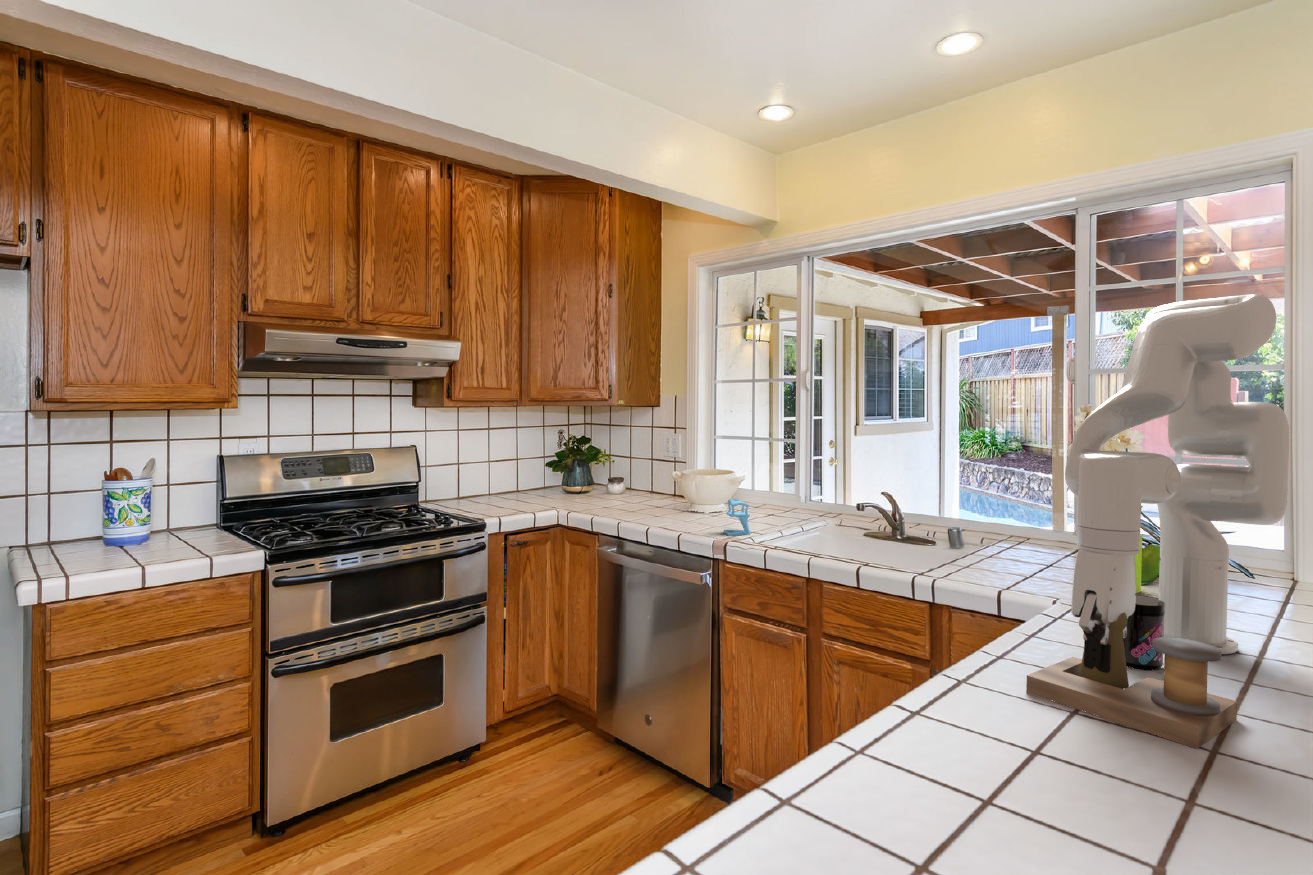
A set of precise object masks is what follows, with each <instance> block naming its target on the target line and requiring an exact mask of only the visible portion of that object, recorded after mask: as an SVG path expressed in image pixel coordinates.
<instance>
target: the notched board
mask: <svg viewBox="0 0 1313 875" xmlns="http://www.w3.org/2000/svg"><path fill="white" fill-rule="evenodd" d="M1152 647H1153V648H1154V649H1155V650H1156V651H1158V652H1160V653H1163V655H1164V656H1163V666H1164V667H1163V671H1164V672H1163V680H1161V679H1157V678H1153V677H1149V676H1148V677H1146V678H1143V679H1141V680H1140V681H1137V682H1136V683H1133V684H1132V685H1129V687H1128V688H1126V689H1121V688H1118V687H1114V686H1111V685H1107V684H1104V683H1100V682H1097V681H1094V680H1090V679H1087V678H1083V677H1080V676H1079V674H1080V668H1081V663H1082V658H1079V657H1076V656H1071V657H1069V658H1066V659H1064V660H1061V661H1059V662H1057V663H1054V664H1051V665H1049V666H1047V667H1044V668H1042V669H1041V668H1040V670H1036V671H1034V672H1032V673H1029V674H1027V675H1026V685H1025V686H1026V690H1025V693H1026V694H1029V695H1032V696H1035V697H1038V696H1039V698H1041V697H1042V698H1041V699H1044V698H1045V699H1044V700H1048V701H1050V700H1053V701H1055V702H1054V703H1056V702H1057V703H1056V704H1059V703H1061V704H1060V705H1062V704H1063V705H1062V706H1065V705H1068V706H1071V707H1073V708H1072V709H1074V708H1075V709H1074V710H1077V709H1078V711H1080V710H1083V711H1086V712H1085V713H1087V712H1088V713H1087V714H1090V713H1091V714H1090V715H1093V714H1095V715H1094V716H1096V715H1098V716H1097V717H1099V716H1100V717H1099V718H1102V717H1103V718H1102V719H1104V720H1109V721H1111V722H1114V723H1117V724H1120V723H1121V724H1120V725H1124V726H1127V727H1129V728H1133V729H1135V730H1139V731H1142V732H1144V733H1147V732H1149V733H1148V734H1150V733H1151V735H1154V736H1156V735H1157V737H1160V738H1162V737H1163V738H1162V739H1166V740H1169V741H1171V742H1174V743H1178V744H1181V745H1184V746H1186V747H1191V748H1192V749H1195V750H1197V749H1199V748H1201V747H1202V746H1203V745H1205V744H1206V743H1207V742H1209V741H1211V739H1213V738H1214V737H1216V736H1217V735H1218V734H1220V733H1221V732H1223V731H1224V730H1225V729H1227V728H1228V727H1230V725H1232V724H1233V723H1235V722H1236V721H1237V719H1238V718H1237V717H1238V716H1237V715H1238V713H1237V711H1238V701H1237V700H1235V699H1231V698H1230V699H1229V698H1226V697H1224V696H1223V697H1222V696H1219V695H1214V694H1212V693H1209V692H1208V671H1209V670H1208V668H1209V663H1210V662H1211V663H1213V662H1219V661H1221V660H1222V655H1223V654H1222V652H1221V650H1220V649H1218V648H1216V647H1214V646H1212V645H1209V644H1205V643H1202V642H1198V641H1193V640H1188V639H1181V638H1171V637H1160V638H1155V639H1153V646H1152ZM1053 701H1052V702H1053ZM1068 706H1067V707H1068ZM1071 707H1070V708H1071ZM1083 711H1082V712H1083Z"/></svg>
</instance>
